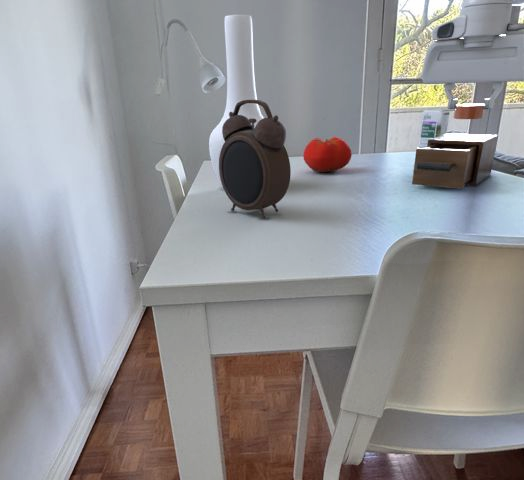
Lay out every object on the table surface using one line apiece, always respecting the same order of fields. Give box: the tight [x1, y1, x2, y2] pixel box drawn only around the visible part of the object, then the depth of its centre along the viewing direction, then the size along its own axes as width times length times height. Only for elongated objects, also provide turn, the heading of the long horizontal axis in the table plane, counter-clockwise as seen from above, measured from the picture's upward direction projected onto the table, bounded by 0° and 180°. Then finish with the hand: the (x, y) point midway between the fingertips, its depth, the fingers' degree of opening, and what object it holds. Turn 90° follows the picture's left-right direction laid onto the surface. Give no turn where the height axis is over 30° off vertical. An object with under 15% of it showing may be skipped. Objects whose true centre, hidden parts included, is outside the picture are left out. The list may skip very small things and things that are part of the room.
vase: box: [208, 14, 265, 188], centre depth 108 cm, size 17×17×35 cm
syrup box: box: [418, 109, 451, 148], centre depth 134 cm, size 6×6×14 cm
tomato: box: [302, 136, 353, 173], centre depth 131 cm, size 14×13×9 cm
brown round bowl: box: [453, 103, 486, 120], centre depth 95 cm, size 6×6×2 cm
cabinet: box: [427, 133, 499, 187], centre depth 116 cm, size 15×13×10 cm
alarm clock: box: [219, 99, 292, 220], centre depth 88 cm, size 15×7×20 cm, turn 46°
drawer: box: [411, 144, 479, 190], centre depth 108 cm, size 18×11×8 cm, turn 145°
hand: (469, 109), depth 95 cm, fingers closed on brown round bowl, 5 cm apart
